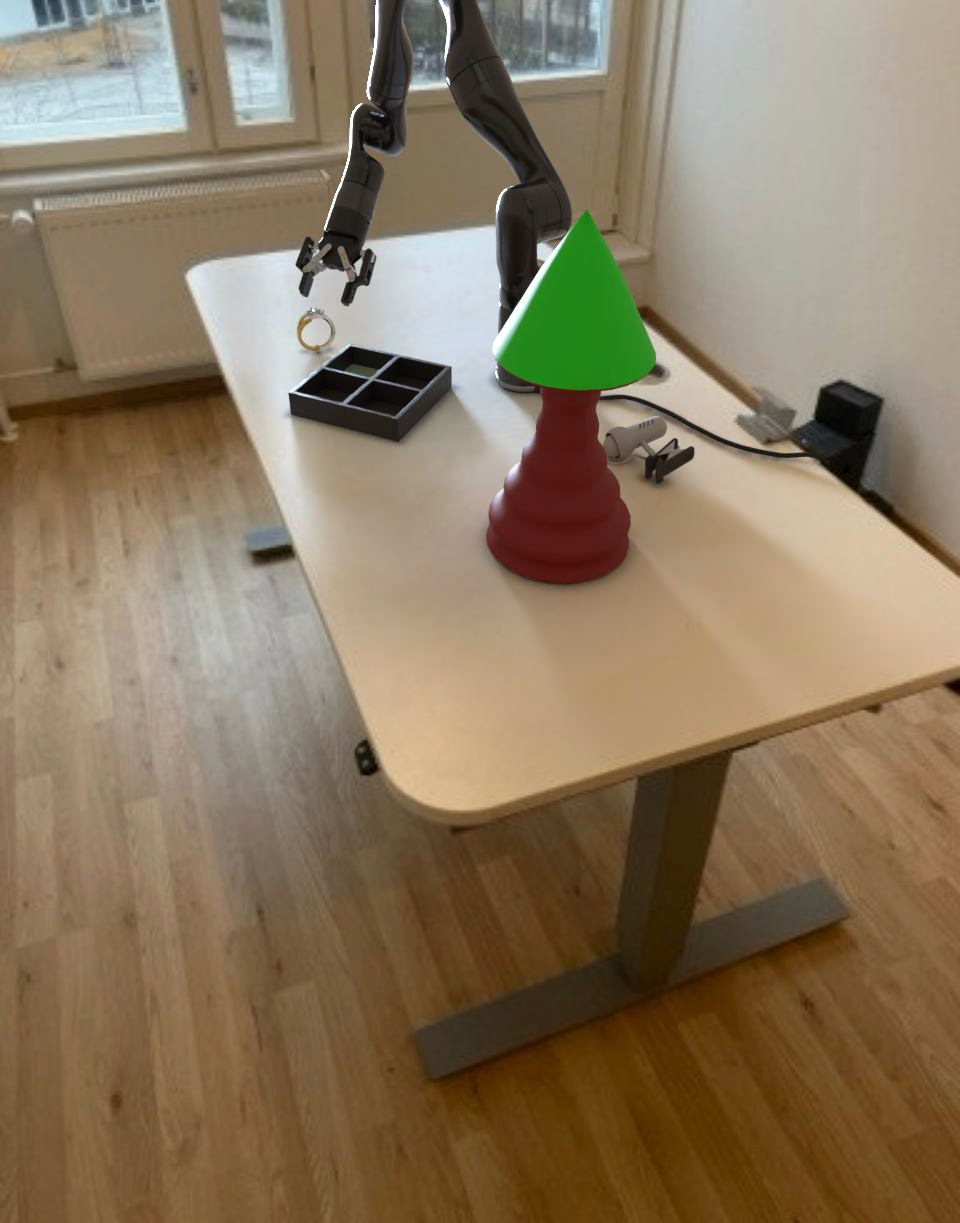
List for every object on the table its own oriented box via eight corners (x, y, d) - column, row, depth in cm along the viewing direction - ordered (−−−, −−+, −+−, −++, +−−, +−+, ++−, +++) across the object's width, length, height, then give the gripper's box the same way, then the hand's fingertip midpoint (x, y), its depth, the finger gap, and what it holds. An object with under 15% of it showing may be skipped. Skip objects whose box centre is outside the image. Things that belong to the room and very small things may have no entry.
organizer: (451, 388, 168) (451, 366, 165) (398, 442, 154) (397, 419, 151) (350, 364, 173) (349, 343, 171) (290, 414, 159) (288, 392, 157)
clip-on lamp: (594, 515, 145) (698, 469, 147) (592, 484, 140) (699, 437, 143) (557, 469, 152) (657, 426, 155) (554, 438, 147) (657, 395, 150)
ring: (335, 345, 179) (331, 303, 174) (338, 353, 177) (334, 311, 172) (297, 349, 177) (293, 307, 172) (300, 357, 175) (295, 315, 170)
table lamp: (541, 605, 124) (570, 255, 95) (458, 528, 136) (461, 197, 107) (658, 555, 133) (717, 220, 103) (570, 487, 145) (600, 170, 115)
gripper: (308, 198, 173) (280, 283, 173) (378, 210, 169) (350, 298, 168) (325, 219, 180) (299, 301, 180) (393, 232, 176) (366, 316, 176)
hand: (323, 299), depth 174 cm, fingers open, 8 cm apart
